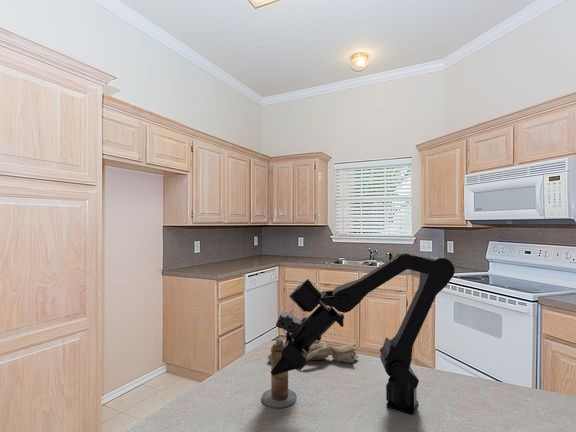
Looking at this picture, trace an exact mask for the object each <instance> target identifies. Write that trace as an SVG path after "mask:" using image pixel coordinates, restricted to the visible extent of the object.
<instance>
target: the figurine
mask: <svg viewBox="0 0 576 432" xmlns="http://www.w3.org/2000/svg"><path fill="white" fill-rule="evenodd" d="M356 346H357V344H346V345H345V344H344V345H341V346H338V347H334V346H332V345H329V344H328V343H327V342H326V341H324V340H319V341H318V340H317V341H316V342H315V343H314V344H313V345H312V346H310V350H309V351H308V352H306V351H305V350H304V349H303V350H304V351H305V353H306V354H307V359H306V362H309V361H318V360H319V361H320V360H321V361H322V360H326V359H327V358H328V357H329V356H331V358H332V359H333V360H334V361H335V362H339V363H347V364H350V363H354V362H355V360H357V359H358V358H359V354H357V353H356V352H355V351H357V350H358V349H357V347H356ZM272 348H273V345H272V346H271V347H270V350H271V349H272ZM268 361H269V363H270V364H271V353H270V355H269V356H268Z"/></svg>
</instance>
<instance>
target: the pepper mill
mask: <svg viewBox="0 0 576 432" xmlns="http://www.w3.org/2000/svg"><path fill="white" fill-rule="evenodd" d="M284 345H285V342H284V340H283V338H281V337H279V338H277V339H276V340H275V343H273V344H272V346H273V348H272V349H271V348H270V354H271V363H270V365H271V367H270V369H271V370H272V369H273V367H274V366H275V365H276V363H277V362H278V361H279V359H280V358H281V356H282V353H281V350H282V347H283V346H284ZM271 370H270V371H271ZM270 375H271V379H270V381H271V385H270V386H271V387H270V389H271V397H272V399H274V400H277V401H282V400H285V399H287V398H288V389H289V371H287V372H283V373H280V374H277V375H272V374H271V373H270Z"/></svg>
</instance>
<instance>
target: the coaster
mask: <svg viewBox="0 0 576 432" xmlns="http://www.w3.org/2000/svg"><path fill="white" fill-rule="evenodd" d="M261 401H262V403H263V405H266V406H267V407H270V408H273V409H285V408H289V407H292V406H293V405H295V403H296V402H297V394H296V392H295V391H293V390H291V389H289V388H288V398H287V399H285V400H282V401H277V400H274V399H272V397H271V388H270V389H267V390H265V392H264V393H262V395H261Z"/></svg>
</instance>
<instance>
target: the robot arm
mask: <svg viewBox="0 0 576 432" xmlns="http://www.w3.org/2000/svg"><path fill="white" fill-rule="evenodd" d="M407 270H409V271H413V272H418V273H419V280H418V282H419V283H418V287H417V289H416V292H415V294H414V296H413V297H412V301H411V303H410V304H409V307H408V308H407V311H406V313H405V316H404V318H403V320H402V322H401V324H400V326H399V329H398V330H397V333H396V334H395V336H394V337H392V338H391V339H390V338H388V337H385V339H384V342H383V345H382V347H381V348H380V349H379V353H380V356H379V358H380V361H381V364H382V366H383V368H384V370H385V373H386V375H388V377H389V378H388V379H387V380H388V381H387V383H386V385H385V388H386V389H385V391H386V392H385V395H386V396H385V398H386V399H385V400H386V401H387V403H386V407H387V408H389V409H393V410H396V411H400V412H404V413H406V414H410V415H414V414H415V412H416V409H417V407H418V404H419V400H418V399H417V398H418V397H417V396H418V395H417V388H418V386H419V384H420V383H419V381H420V380H419V379H418V377H417V375H416V374H415V372H414V370H413V369H412V368H411V364H412V360H413V347H414V344H415V342H416V340H417V337H418V336H419V333H420V332H421V329H422V327H423V325H424V323H425V320H426V318H427V316H428V314H429V312H430V310H431V308H432V305H433V303H434V301H435V298H436V297H437V295H438V294H439V293H440V292H441V291H442V290H443V289H444V288H446V287H447V285H448V284H449V283H450V282H451V280H452V278H453V277H454V274H455V273H456V272H455V271H456V269H455V266H454V264H453V262H452V261H451V260H449V259H448V258H445V257H440V256H437V255H431V256H428V257H424V256H423V257H422V256H418V255H413V254H409V253H406V252H402V251H401V252H398V253H397V254H396V255H395V256H394V257H392V258H390V259H389V260H387V261H386V262H384V263H382V264H381V265H379V266H378V267H376V268H375V269H372V270H371V271H369V272H367V274H364V275H363V276H362V277H360V278H357V279H355V280H352V281H349V282H346V283H344V284H341V285H339V286H336V287H335V288H334V289H333V290H326V291H325V290H323V291H319V289H318V288H317V287H316V286H315V285H314V284H313V282H312V281H311V280H310V279H309V278H307V279H306V280H305V281H303V282H302V283H301V284H299V285H297V287H296V288H294V290H293V291H292V292H291V293H290V294H289V295H288V297H289V298H290V299H291V300H292V302H294V303H295V304H296V305H297V307H298V308H300V310H302V312H304V313H310V314H309V315H308V316H306V317H303V318H302V319H300V318H297V317H296V316H294V315H293V314H291V313H288V312H286V311H284V310H281V312H280V314H279V316H278V319H277V320H276V323H275V326H276V327H277V328H279V329H282V330H283V331H284V330H285V332H286V333H285V334H286V335H285V341H284V343H285V345H284V346H283V347H282V350H281V353H282V356H281V358H280V359H279V361H278V362H277V363H276V365H275V366H274V367H273V369H272V370H270V375H271V374H272V375H277V374H280V373H283V372H287V371H288V372H289V371H293V370H297V371H298V370H302V369H304V367H305V366H306V365H307V361H306V359H307V354H306V353H305V351H306V352H308V351H309V350H310V346H312V345H313V344H314V343H315V342H316V341H317V340H318V341H322V336H323V335H324V334H325V333H326V332H327V331H328V330H329V329H330V328H331V327H332V326H333V325H334V324H335V323H337V324H338V325H339V326H340V327H341V328H343V327H344V326H345V325H344V320H345V315H344V314H345V313H349V312H351V311H352V310H354V309H355V307H357V306H358V304H360V303H361V302H362V301H363V299H364V298H365V297H366V296H367V295H368V294H369V293H371V292H372V291H374V290H376V289H378V287H380V286H382V285H383V284H385V283H387V282H389V281H390V280H392V279H393V278H395V277H397V276H398V275H400V274H402V273H403V272H405V271H407ZM303 349H304V350H305V351H304V350H303Z"/></svg>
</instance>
